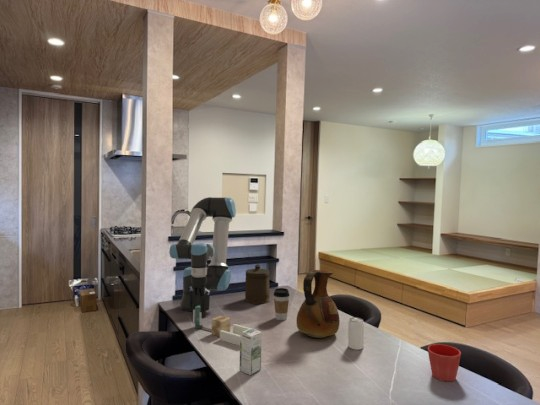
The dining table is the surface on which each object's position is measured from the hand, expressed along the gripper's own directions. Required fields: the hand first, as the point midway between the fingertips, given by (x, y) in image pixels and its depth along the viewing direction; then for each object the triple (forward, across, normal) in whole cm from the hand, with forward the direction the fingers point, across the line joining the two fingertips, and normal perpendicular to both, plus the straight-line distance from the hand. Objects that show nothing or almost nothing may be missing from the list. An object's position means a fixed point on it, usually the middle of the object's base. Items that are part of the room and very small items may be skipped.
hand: (198, 323), depth 176 cm
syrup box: (+2, +46, -20) cm, 50 cm away
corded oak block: (+2, +8, 0) cm, 8 cm away
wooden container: (+2, -3, +53) cm, 53 cm away
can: (+2, +71, +22) cm, 74 cm away
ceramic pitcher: (+2, +51, +26) cm, 57 cm away
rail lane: (+2, +25, 0) cm, 25 cm away
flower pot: (+2, +106, +16) cm, 107 cm away
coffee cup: (+2, +26, +34) cm, 43 cm away
